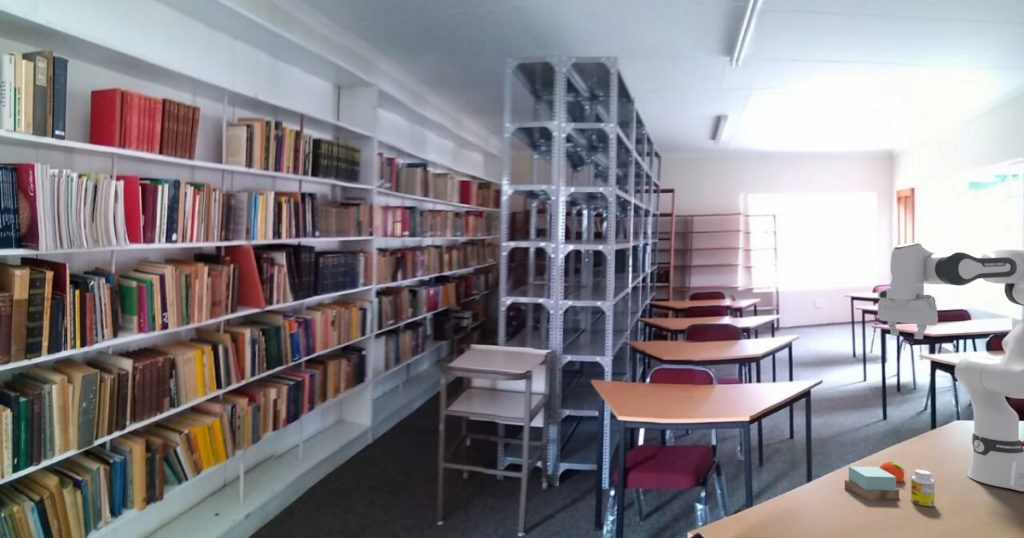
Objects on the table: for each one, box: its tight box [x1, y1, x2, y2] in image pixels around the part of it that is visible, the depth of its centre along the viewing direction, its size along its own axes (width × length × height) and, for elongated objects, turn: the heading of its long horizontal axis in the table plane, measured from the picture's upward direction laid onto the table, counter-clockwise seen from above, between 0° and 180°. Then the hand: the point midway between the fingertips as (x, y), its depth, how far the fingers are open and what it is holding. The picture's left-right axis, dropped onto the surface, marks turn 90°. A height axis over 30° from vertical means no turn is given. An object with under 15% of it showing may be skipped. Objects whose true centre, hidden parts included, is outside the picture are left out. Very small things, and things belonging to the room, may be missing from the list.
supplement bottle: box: [910, 469, 936, 508], centre depth 168 cm, size 6×6×10 cm
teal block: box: [848, 465, 897, 490], centre depth 175 cm, size 9×9×4 cm
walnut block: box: [844, 478, 900, 502], centre depth 175 cm, size 10×10×4 cm
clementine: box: [879, 461, 907, 483], centre depth 186 cm, size 8×7×7 cm
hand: (906, 337), depth 182 cm, fingers open, 8 cm apart
